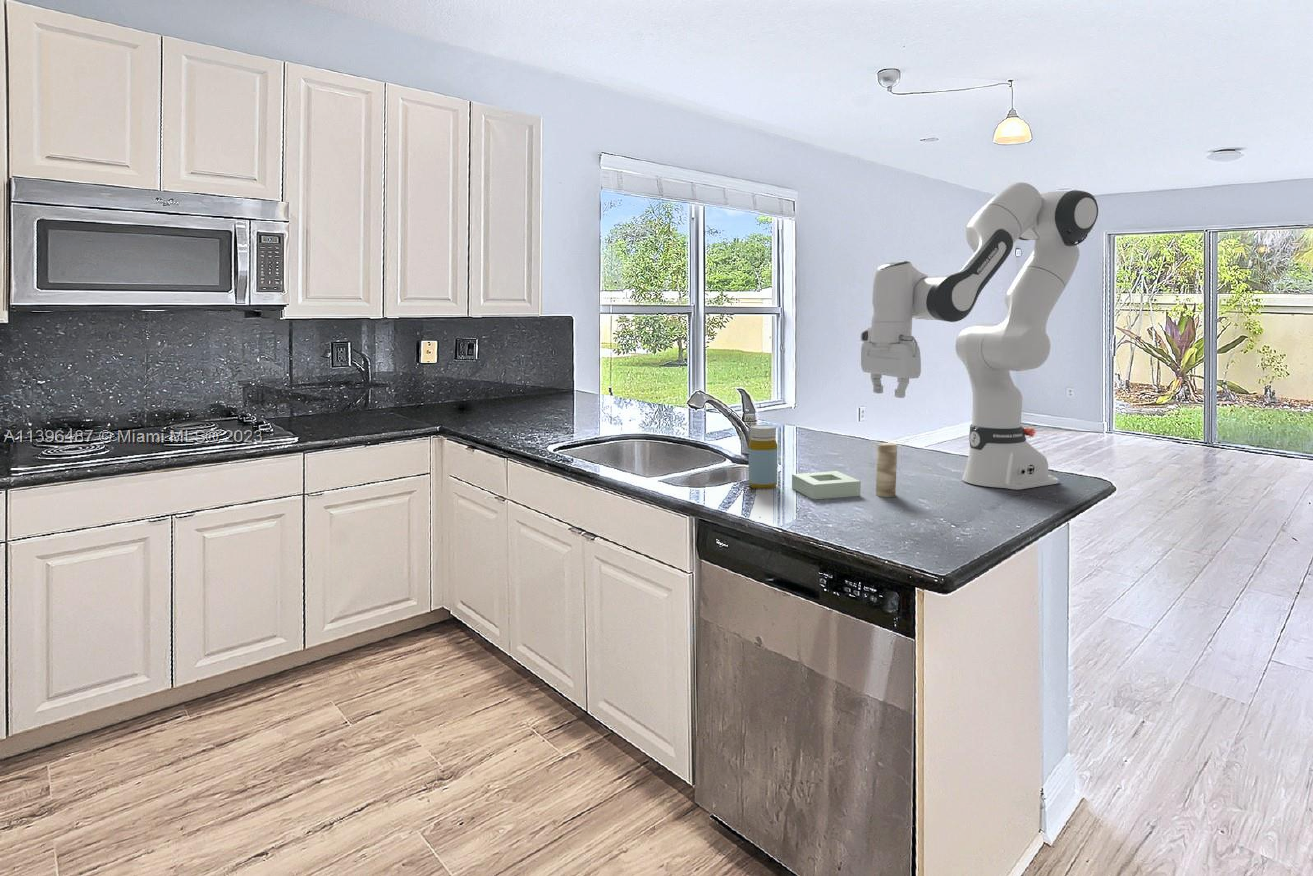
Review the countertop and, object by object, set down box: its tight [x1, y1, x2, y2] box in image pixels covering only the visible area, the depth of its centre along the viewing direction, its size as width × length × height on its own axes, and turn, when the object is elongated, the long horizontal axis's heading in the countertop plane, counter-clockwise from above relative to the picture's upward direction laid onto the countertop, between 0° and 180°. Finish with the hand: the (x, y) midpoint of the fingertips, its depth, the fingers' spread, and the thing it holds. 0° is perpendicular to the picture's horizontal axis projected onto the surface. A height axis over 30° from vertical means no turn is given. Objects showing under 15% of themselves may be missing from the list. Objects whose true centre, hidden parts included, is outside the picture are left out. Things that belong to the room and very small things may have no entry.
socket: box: [791, 470, 862, 500], centre depth 186 cm, size 12×12×4 cm
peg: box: [875, 442, 898, 498], centre depth 182 cm, size 4×4×12 cm
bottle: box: [748, 424, 779, 490], centre depth 192 cm, size 7×7×15 cm
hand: (888, 395), depth 179 cm, fingers open, 8 cm apart
